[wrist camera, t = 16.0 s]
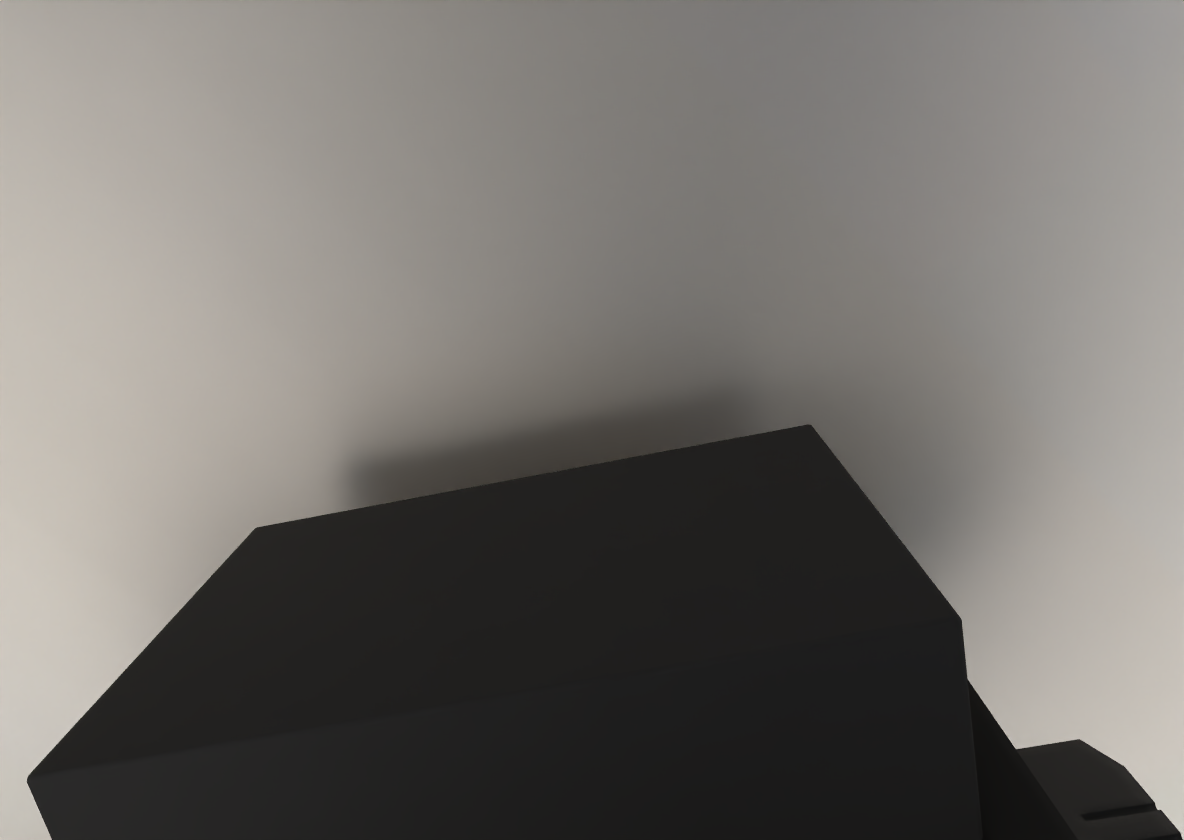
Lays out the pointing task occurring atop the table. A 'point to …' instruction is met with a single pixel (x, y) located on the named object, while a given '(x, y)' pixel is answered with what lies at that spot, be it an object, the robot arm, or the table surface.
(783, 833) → the pad
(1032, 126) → the table surface
